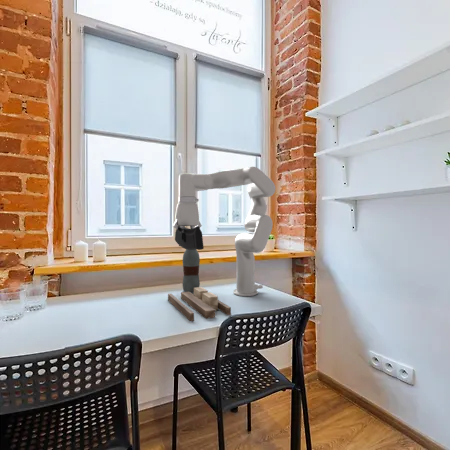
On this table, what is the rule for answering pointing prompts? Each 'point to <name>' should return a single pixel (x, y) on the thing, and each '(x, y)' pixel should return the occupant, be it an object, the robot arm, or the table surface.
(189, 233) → the magazine
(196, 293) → the offcut
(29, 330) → the table surface
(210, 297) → the offcut
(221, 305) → the rack
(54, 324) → the table surface
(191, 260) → the bottle
